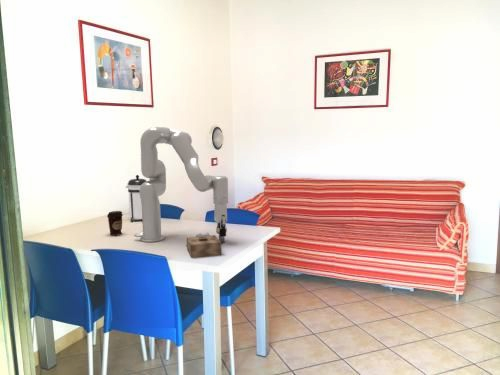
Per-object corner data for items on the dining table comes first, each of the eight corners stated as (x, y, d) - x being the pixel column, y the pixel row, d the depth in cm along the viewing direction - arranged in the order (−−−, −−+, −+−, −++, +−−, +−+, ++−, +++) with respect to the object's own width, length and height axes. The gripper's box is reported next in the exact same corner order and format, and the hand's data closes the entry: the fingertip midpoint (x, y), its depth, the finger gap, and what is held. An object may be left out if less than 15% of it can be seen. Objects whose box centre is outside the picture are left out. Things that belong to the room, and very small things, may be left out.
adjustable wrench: (190, 248, 203) (190, 244, 202) (178, 247, 205) (178, 243, 204) (210, 235, 226) (210, 232, 226) (200, 235, 228) (200, 232, 228)
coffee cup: (127, 233, 232) (126, 211, 231) (117, 236, 225) (115, 213, 223) (115, 232, 236) (114, 210, 234) (105, 235, 229) (103, 212, 227)
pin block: (191, 257, 185) (190, 244, 184) (187, 249, 198) (186, 237, 197) (221, 254, 189) (221, 242, 188) (215, 247, 202) (215, 235, 201)
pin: (217, 244, 208) (217, 229, 207) (215, 241, 213) (215, 227, 212) (228, 243, 209) (227, 228, 208) (225, 240, 214) (225, 226, 213)
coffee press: (139, 223, 259) (137, 176, 255) (122, 220, 268) (120, 175, 264) (159, 218, 273) (157, 174, 270) (143, 216, 282) (141, 173, 278)
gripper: (210, 198, 215) (211, 231, 218) (217, 203, 199) (217, 239, 201) (224, 197, 217) (225, 230, 220) (231, 202, 201) (232, 238, 203)
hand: (221, 234), depth 210 cm, fingers closed on pin, 5 cm apart
